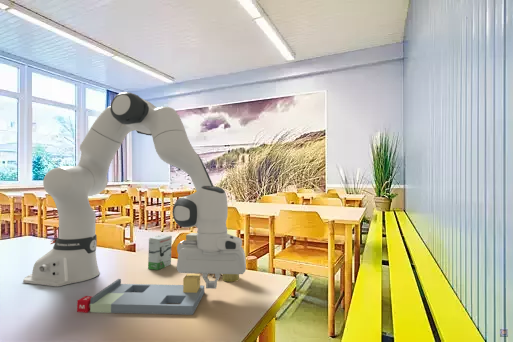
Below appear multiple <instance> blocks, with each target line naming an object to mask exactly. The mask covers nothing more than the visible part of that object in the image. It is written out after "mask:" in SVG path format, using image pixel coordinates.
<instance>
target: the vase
mask: <svg viewBox="0 0 513 342" xmlns="http://www.w3.org/2000/svg"><path fill="white" fill-rule="evenodd" d="M221 280H222V281H224V282H226V283H234V282H237V281H239V280H240V274H222V276H221Z"/></svg>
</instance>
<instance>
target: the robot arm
mask: <svg viewBox="0 0 513 342" xmlns="http://www.w3.org/2000/svg"><path fill="white" fill-rule="evenodd" d="M133 131H136V132H137V134H141V135H146V136H151V137H152V141H153V145H154V149H155V152H156V154H157V155H158V157H159V159H160V160H162V161H163V162H164V163H166V164H167V165H170V166H173V167H175V168H178V169H180V170H181V171H183V172H184V173H186V175H188V176H189V178H190V179H191V181H192V183H193V186H194V187H195V188H194V189H195V192H193V193H191V194H189V195H186V196H183V197H180V198H178V199H177V200H176V201H175V203H174V205H173V207H172V217H173V218H172V219H173V220H174V222H175V223H176V224H177V225H178V226H179V227H182V228H194V227H196V228H197V231H196V233H197V241H196V240H195V241H187V240H186V239H185V240H182V241H180V242H179V243H178V244H177V246H176V251H177V262H176V270H177V272H178V273H179V274H202V275H201V276H202V277H201V278H202V279H203V281H204V282H205V289H212V290H213V289H215V290H216V289H217V285H218V281H219V280H220V278H221V276H220V275H221V274H239V275H243V274H244V273H245V272H246V269H247V263H246V262H247V261H246V254H245V253H246V252H245V250H244V248H243V247H242V245H243V240H242V238H241V237H237V236H236V235H235V236H234V235H233V234H229V233H228V227H227V220H228V211H229V209H228V197H227V192H226V190H225V189H223V188H221V187H218V186H214V184H213V182H212V180H211V177H210V174H209V173H208V171H207V168H206V166H205V164H204V162H203V160H202V158H201V156H200V155H199V154H198V153H197V152H196V151H195V148H194V147H193V146H192V143H191V142H190V140H189V137H188V134H187V131H186V128H185V126H184V123H183V121H182V119H181V118H180V115H179V114H178V112H177V110H175V109H174V108H173V107H169V106H161V107H160V106H159V107H157V106H156V105H155V104H153V103H151V102H150V101H148V100H146V99H144V98H142V97H140V95H137V94H135V93H133V92H129V91H122V92H119V93H118V94H116V95H115V96H114V97H113V98H112V100H111V103H110V106H107V107H105V109H104V110H103V111H102V112H101V113H100V114H99V115H98V117H97V118H96V119H95V120H94V122H93V123H92V125H91V127H90V128H89V130H88V132H87V133H86V135H85V136H84V138H83V140H82V141H81V144H80V145H79V150H80V152H81V153H80V154H81V155H80V159H79V162H78V164H76V166H75V165H73V166H72V165H62V166H58V167H54V168H52V169H50V170H49V171H47V172H46V173H45V176H44V177H43V180H42V181H43V185H42V186H43V188H44V190H45V192H46V193H47V194H48V195H49V196H50V197H51V198H52V200H53V202H54V204H55V207H56V209H57V214H58V237H56V238H55V239H53V240H50V245H53V244H54V245H53V247H52V249H50V250H49V251H48V252H46V253H45V254H44V255H42V257H40V258H38V259H37V260H36V261H35V263H34V265H33V268H32V273H30V274H29V275H27V276H26V277H24V278H23V281H22V283H23V284H25V283H26V284H32V285H33V284H34V285H42V286H51V287H61V286H66V285H69V284H76V283H79V282H80V283H81V282H84V281H88V280H91V279H93V278H95V277H97V276H99V275H100V270H99V266H98V261H97V260H98V259H97V253H96V252H97V251H96V250H97V246H98V245H97V244H98V240H97V239H98V238H97V234H96V224H97V223H96V219H97V218H96V217H97V215H96V212H95V211H94V209H92V206H91V204H90V201H89V197H93V196H95V195H98V194H100V193H101V192H103V191H105V190H106V188H107V186H108V183H109V181H108V180H109V179H108V172H109V169H110V166H111V163H112V161H113V159H114V158H115V155H116V154H117V152H118V150H119V149H120V147H121V146H122V144H123V142H124V140H125V139H126V137H127V135H128V134H129V133H130V132H133ZM209 274H213V275H214V274H215V278H214V279H215V280H210V279H209Z"/></svg>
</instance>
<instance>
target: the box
mask: <svg viewBox="0 0 513 342" xmlns="http://www.w3.org/2000/svg"><path fill="white" fill-rule="evenodd" d="M185 240H187V241H195V240H196V241H197V232H191V233H187V234H186V235H185Z"/></svg>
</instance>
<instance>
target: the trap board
mask: <svg viewBox="0 0 513 342" xmlns="http://www.w3.org/2000/svg"><path fill="white" fill-rule="evenodd" d="M204 295H205V285H201V284H200V288H199V290H198V292H197V293H190V292H183V284H156V283H155V284H153V283H151V284H147V283H146V284H144V283H122V280H121V278H117V279H116V280H114V281H113V282H112V283H110V284H108V285H107V286H106V287H104V288H102V289H101V290H99V291H98V292H97V293H95V294H94V295H92V296H93V297H91V301H90V311H89V312H90V313H100V314H101V313H103V314H104V313H106V314H107V313H109V314H113V313H114V314H148V315H149V314H150V315H151V314H153V315H187V316H189V315H191V316H194V314H195V311H196V310H197V308H198V306H199V304H200V301H201V300H202V298H203V296H204Z"/></svg>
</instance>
